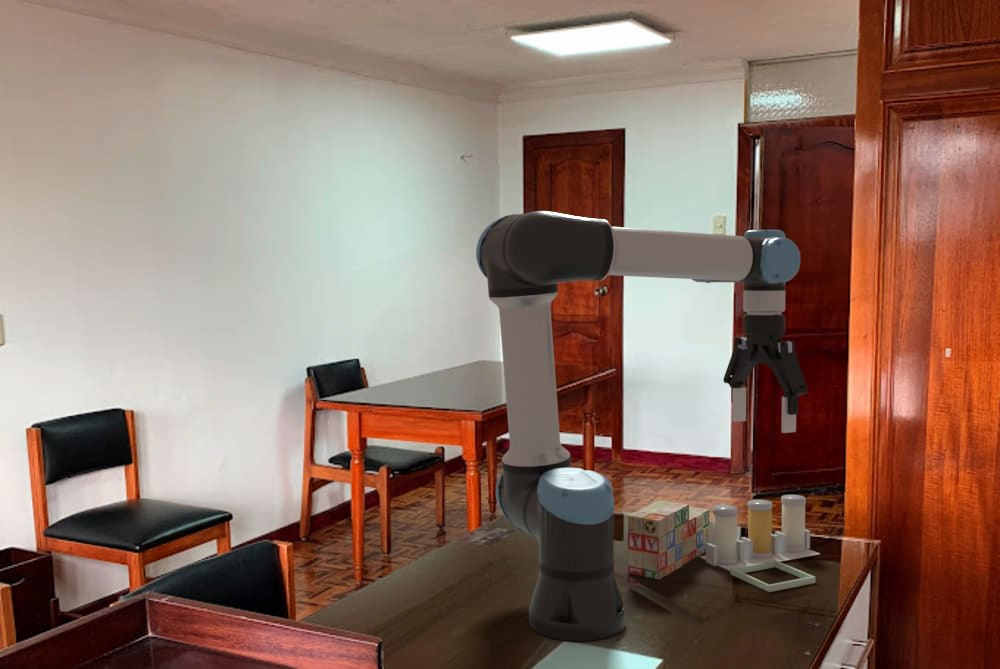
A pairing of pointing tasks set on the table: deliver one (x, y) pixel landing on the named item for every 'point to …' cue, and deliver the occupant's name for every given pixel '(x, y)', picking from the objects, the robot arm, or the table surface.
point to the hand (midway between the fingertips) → (763, 426)
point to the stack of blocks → (665, 538)
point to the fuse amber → (760, 527)
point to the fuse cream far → (794, 522)
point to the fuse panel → (747, 551)
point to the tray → (804, 580)
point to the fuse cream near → (725, 533)
